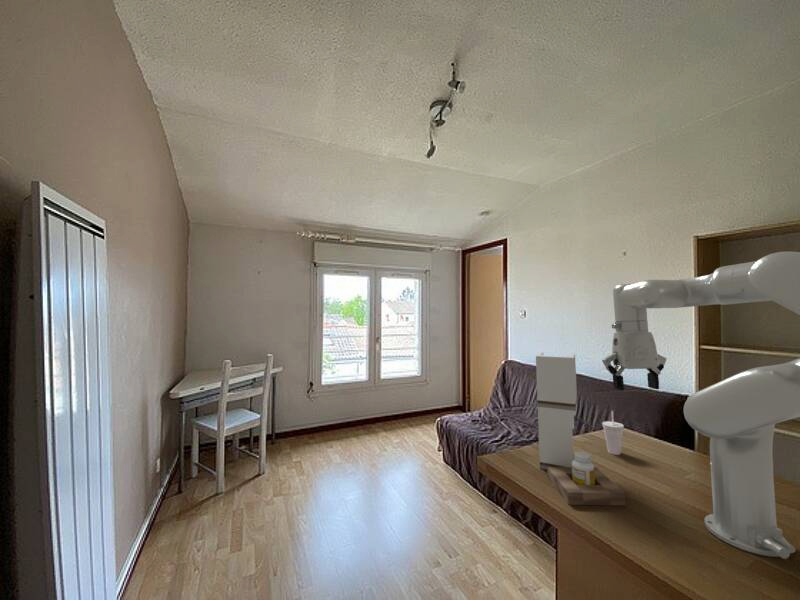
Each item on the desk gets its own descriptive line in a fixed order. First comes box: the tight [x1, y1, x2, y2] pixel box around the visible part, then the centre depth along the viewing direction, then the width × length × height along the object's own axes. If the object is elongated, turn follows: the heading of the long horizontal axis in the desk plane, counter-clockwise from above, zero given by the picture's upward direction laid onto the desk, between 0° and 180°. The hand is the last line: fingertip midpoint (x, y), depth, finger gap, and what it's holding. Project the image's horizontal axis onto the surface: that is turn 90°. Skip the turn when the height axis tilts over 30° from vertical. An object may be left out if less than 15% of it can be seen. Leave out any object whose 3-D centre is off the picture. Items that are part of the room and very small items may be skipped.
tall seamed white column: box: [535, 351, 578, 471], centre depth 107 cm, size 11×11×35 cm
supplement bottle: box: [572, 451, 595, 485], centre depth 91 cm, size 5×5×10 cm
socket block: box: [546, 466, 627, 506], centre depth 91 cm, size 14×14×3 cm
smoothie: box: [601, 410, 625, 456], centre depth 114 cm, size 6×6×14 cm
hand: (636, 388), depth 92 cm, fingers open, 9 cm apart
